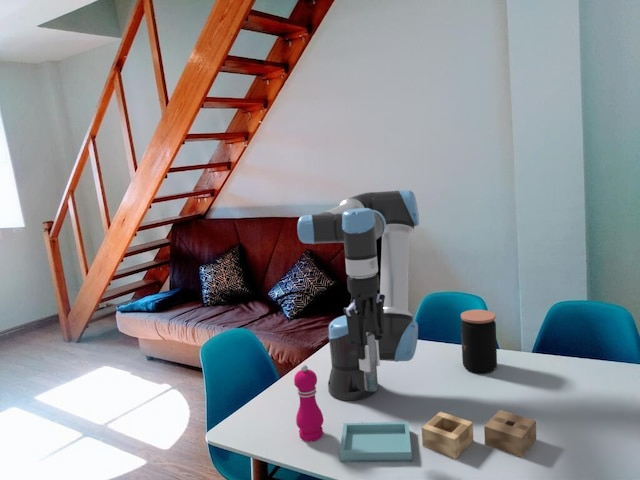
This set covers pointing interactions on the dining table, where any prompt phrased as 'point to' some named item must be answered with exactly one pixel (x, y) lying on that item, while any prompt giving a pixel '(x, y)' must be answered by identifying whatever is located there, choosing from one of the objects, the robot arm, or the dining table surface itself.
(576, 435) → the dining table surface
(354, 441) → the teal tray
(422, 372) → the dining table surface
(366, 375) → the cylinder
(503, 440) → the walnut block narrow bore
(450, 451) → the oak block wide bore
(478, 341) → the coffee jar
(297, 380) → the pepper mill
